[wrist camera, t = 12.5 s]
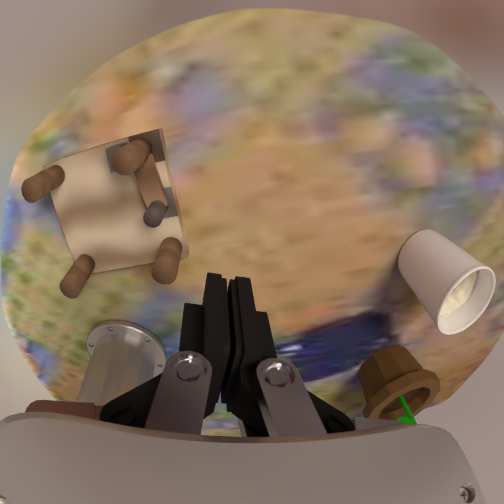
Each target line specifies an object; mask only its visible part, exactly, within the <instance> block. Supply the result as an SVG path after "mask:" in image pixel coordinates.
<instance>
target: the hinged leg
mask: <svg viewBox="0 0 504 504" xmlns="http://www.w3.org/2000/svg"><path fill="white" fill-rule="evenodd" d="M111 163H112V167H113V169H114V170H115V171H116V172H117V173H118V174H120V175H130V174H132V173H133V172H134V174H135V176H136V179H137V182H138V185H139V188H140V190H141V193H142V196H143V199H144V201H145V204H146V207H147V210H146V212H145V213H144V215H143V221H144V223H145V224H146V225H147V226H148V227H151V228H155V227H158V226H159V225H160V224H161V222H162V220H163V218H164V215H165V213H166V211H167V208H168V199H167V196H166V193H165V190H164V187H163V184H162V182H161V179H160V176H159V173H158V170H157V167H156V164H155V161H154V158H153V155H152V145H151V143H150V142H149V141H148V140H146V139H143V138H139V139H136V140H134V141H132V142H130V143H128V144H126V145H124V146H123V147H121V148H119V149H117V150H116V151H115V152H114V154H113V155H112V159H111Z"/></svg>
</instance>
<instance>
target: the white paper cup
mask: <svg viewBox="0 0 504 504" xmlns="http://www.w3.org/2000/svg"><path fill="white" fill-rule="evenodd" d="M398 269H399V272H400V274H401V275H402V277H403V278H404V280H405V281H406V283H407V284H408V285H409V287H410V288H411V289H412V291H413V292H414V294H415V295H416V296H417V298H418V299H419V301H420V302H421V304H422V305H423V306H424V308H425V309H426V311H427V312H428V314H429V315H430V317H431V318H432V320H433V321H434V323H435V324H436V326H437V328H438V330H439V331H440V332H441V333H443V334H446V335H452V334H456V333H458V332H461V331H463V330H464V329H466V328H467V327H469V326H470V325H471V324H473V323H474V322H475V321H476V320H477V319H478V318H479V317H480V315H481V314H482V313H483V312H484V310H485V309H486V307H487V306H488V304H489V302H490V300H491V298H492V295H493V292H494V289H495V275H494V272H493V271H492V269H490V268H489V267H487V266H486V265H484V264H483V263H481V262H480V261H479V260H477V259H476V258H475V257H473V256H472V255H470V254H469V253H468V252H466V251H465V250H463V249H462V248H460V247H459V246H458V245H456V244H455V243H453V242H452V241H450V240H449V239H447V238H446V237H444V236H443V235H441V234H439V233H438V232H436V231H434V230H430V229H425V230H421V231H418V232H417V233H415V234H413V235H412V236H411V237H410V238H409V239H408V240H407V241H406V242H405V244H404V245H403V247H402V249H401V251H400V254H399V257H398Z"/></svg>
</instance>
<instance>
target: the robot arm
mask: <svg viewBox="0 0 504 504" xmlns="http://www.w3.org/2000/svg"><path fill="white" fill-rule="evenodd" d="M87 349H88V352H89V355H90V356H91V360H90V363H89V365H88V368H87V371H86V374H85V377H84V380H83V383H82V386H81V389H80V392H79V395H78V399H77V402H65V401H51V400H36V401H34V402H32V403H31V404H30V405H29V406H28V407H27V409H26V411H25V413H19V414H14V415H11V416H8V417H6V418H4V419H3V420H1V421H0V504H487V503H486V501H485V498H484V496H483V493H482V490H481V488H480V485H479V483H478V481H477V478H476V476H475V474H474V472H473V470H472V467H471V466H470V463H469V461H468V459H467V457H466V456H465V454H464V452H463V450H462V449H461V447H460V445H459V444H458V442H457V441H456V440H455V438H454V437H453V436H452V435H451V434H450V433H449V432H447V431H446V430H444V429H441V428H438V427H435V426H429V425H421V424H404V423H403V422H401V421H397V420H384V419H371V418H360V417H354V418H353V419H350V418H349V417H348V416H346V415H345V414H344V413H342V412H341V411H339V410H337V409H336V408H334V407H333V406H331V405H329V404H328V403H326V402H325V401H323V400H321V399H320V398H318V397H317V396H315V395H314V394H312V393H311V392H309V391H308V390H306V387H305V385H304V383H303V381H302V379H301V377H300V375H299V372H298V371H297V369H296V368H295V367H294V366H293V365H292V364H291V363H289V362H287V361H285V360H282V359H279V358H277V356H276V351H275V347H274V342H273V338H272V333H271V329H270V324H269V320H268V315H267V313H266V312H260V311H256V308H255V303H254V297H253V292H252V286H251V280H250V278H246V277H238V276H236V277H235V280H233V279H230V281H229V286H228V291H227V281H226V279H225V278H222V276H221V274H215V273H207V278H206V284H205V290H204V297H203V303H202V305H198V304H190V303H185V304H184V311H183V320H182V328H181V337H180V347H179V352H177V353H174V354H173V355H171V356H170V357H169V358H168V360H167V362H166V352H165V349H164V347H163V345H162V344H161V342H160V341H159V340H158V339H157V338H156V337H155V336H154V335H153V334H152V333H150V332H149V331H148V330H146V329H144V328H142V327H140V326H138V325H135V324H133V323H129V322H125V321H116V320H115V321H106V322H102V323H100V324H98V325H96V326H95V327H94V328H93V329H92V330H91V332H90V333H89V336H88V339H87ZM162 371H163V373H161V372H162ZM160 373H161V374H160ZM220 391H221V402H222V403H225V404H227V412H232V413H233V414H234V415H235V416H236V417H238V418H239V420H238V423H239V428H240V432H241V435H242V437H229V436H209V435H201V429H202V424H203V419H205V418H206V417H207V416H209V415H210V414H211V413H213V412H214V408H215V404H216V403H218V399H219V395H220Z"/></svg>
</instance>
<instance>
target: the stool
mask: <svg viewBox="0 0 504 504" xmlns="http://www.w3.org/2000/svg"><path fill="white" fill-rule="evenodd" d="M139 138H143V139H146V140H148V141H149V142H150V143H151V145H152V155H153V158H154V161H155V164H156V167H157V170H158V173H159V176H160V179H161V182H162V184H163V187H164V190H165V193H166V196H167V199H168V208H167V211H166V213H165V215H164V218H163V220H162V222H161V224H160V225H159V226H158V227H155V228H151V227H148V226H147V225H146V224H145V223H144V221H143V215H144V213H145V212H146V210H147V207H146V204H145V201H144V199H143V196H142V193H141V190H140V188H139V185H138V182H137V179H136V176H135V174H134V172H133V173H132V174H130V175H120V174H118V173H117V172H116V171H115V170H114V169H113V167H112V163H111V159H112V155H113V154H114V152H115V151H116V150H117V149H119V148H121V147H123V146H124V145H126V144H128V143H130V142H132V141H134V140H136V139H139ZM21 190H22V195H23V197H24V199H25V200H26V201H28V202H30V203H34V202H36V201H38V200H39V199H40V198H42V197H43V196H45V195H46V194H48V193H49V192H50V194H51V197H52V200H53V203H54V206H55V209H56V212H57V215H58V218H59V221H60V224H61V227H62V229H63V232H64V235H65V238H66V240H67V243H68V245H69V248H70V250H71V253H72V255H73V258H74V260H75V263H74V264H73V265H72V267H71V268H70V270H69V271H68V272H67V274H66V275H65V277H64V278H63V280H62V281H61V283H60V290H61V292H62V293H63V294H64V295H65V296H66V297H68V298H76V297H78V295H79V293H80V292H81V290H82V288H83V286H84V285H85V283H86V281H87V280H88V278H89V276H90V275H91V273H97V272H102V271H108V270H114V269H119V268H125V267H131V266H136V265H142V264H148V263H153V262H155V263H154V266H153V269H152V276H153V278H154V279H155V280H156V281H157V282H158V283H161V284H170V283H172V282H174V281H175V279H176V277H177V272H178V267H179V262H180V258H182V257H188V253H189V245H188V241H187V237H186V233H185V229H184V225H183V221H182V217H181V213H180V209H179V205H178V201H177V196H176V192H175V188H174V183H173V179H172V174H171V170H170V165H169V160H168V156H167V151H166V146H165V141H164V136H163V131H162V129H157V130H153V131H149V132H145V133H141V134H137V135H134V136H130V137H127V138H123V139H119V140H116V141H113V142H109V143H106V144H103V145H99V146H96V147H93V148H90V149H87V150H84V151H81V152H78V153H75V154H72V155H70V156H67V157H64V158H61V159H58V160H56V161H53V162H51V163H49V164H47V165H44V166H43V171H41V172H39V173H37V174H35V175H34V176H32V177H30V178H28V179H26V180H25V181H24V182H23V184H22V189H21Z"/></svg>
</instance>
